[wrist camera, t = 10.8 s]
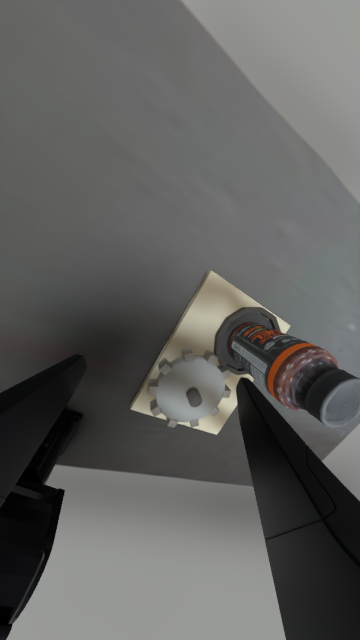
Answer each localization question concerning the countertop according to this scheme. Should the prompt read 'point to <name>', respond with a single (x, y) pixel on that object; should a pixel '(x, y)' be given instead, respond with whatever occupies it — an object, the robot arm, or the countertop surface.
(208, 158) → the countertop surface
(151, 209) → the countertop surface
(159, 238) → the countertop surface
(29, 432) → the robot arm
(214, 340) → the gear board
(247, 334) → the supplement bottle
